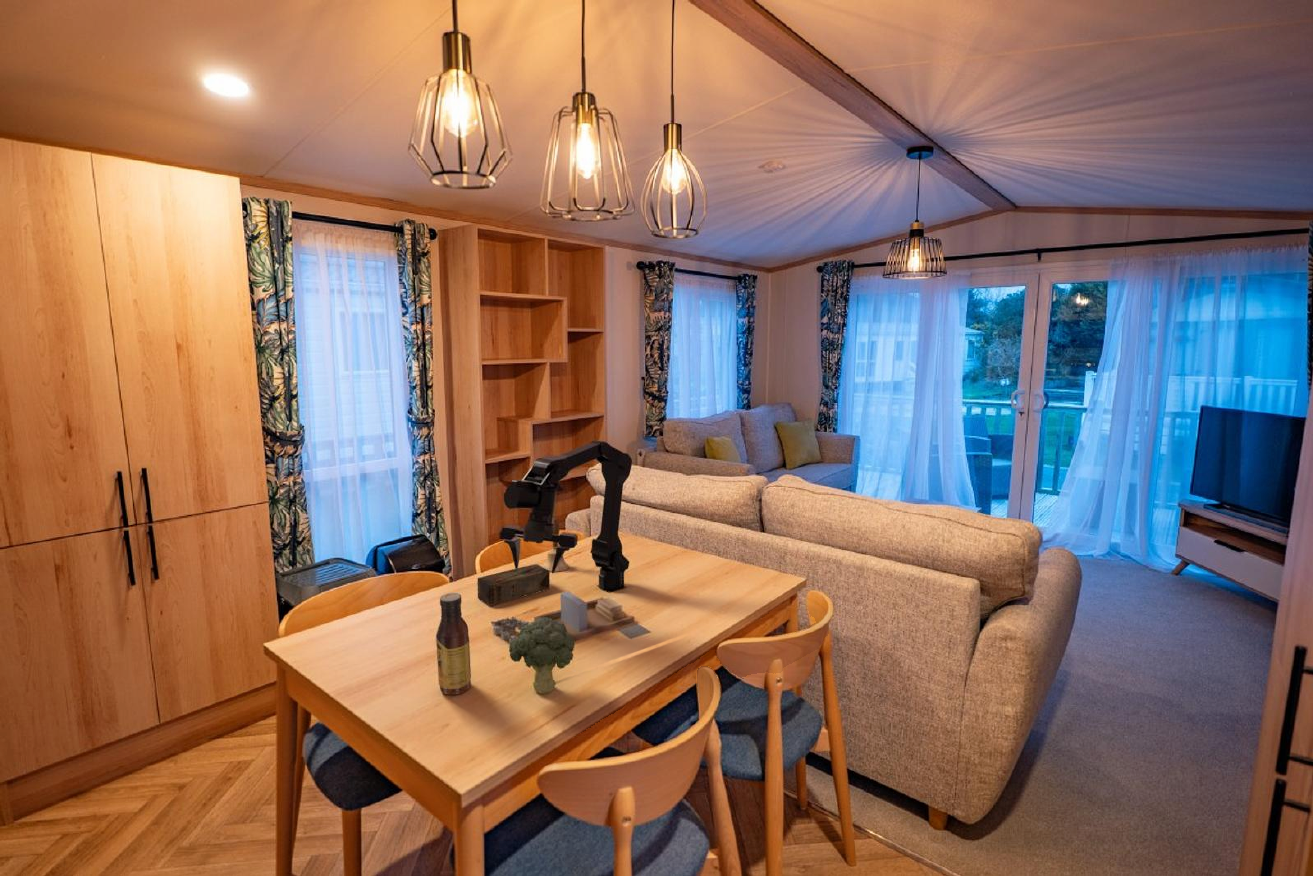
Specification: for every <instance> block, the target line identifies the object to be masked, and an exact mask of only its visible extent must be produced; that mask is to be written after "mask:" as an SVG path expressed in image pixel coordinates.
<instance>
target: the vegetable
mask: <svg viewBox="0 0 1313 876" xmlns="http://www.w3.org/2000/svg"><path fill="white" fill-rule="evenodd" d="M531 622H532V623H531ZM531 622H530V623H531V624H530V625H525V626H523V627H522V628H521V630H519V632H518V634H517V635H518V637H517V638H515V639H514V640H513V641H512V642H511V644H509V647H508V649H509V650H508V652H509V657H510V659H511V661H513V662H520V661H521V660H522V658H523V661H524V663H525V666H526V667H528V668H531V667H532V669H533V670H534V671H535V673H534V678H533V679H534V680H533V682H532V684H533V689H534V692H535V693H537V694H539V695H540V694H550V693H552V691H554V688H555V686H556V681H555V679H554V676H553V670H554V668H555V667H557V668H558V669H564V668H565V667H566V666H569V665H570V663H571V661H573V659H574V653H573V652H574V649H575V641H574V638H573V636H572V635H571V634H570V633H568V632H567V630H566V627H565V625H564V624H563V623H562V622H557V621H556V620H552V619H550V618H547V617H542V618H540V619H538V620H537V621H534V620H533V621H531Z"/></svg>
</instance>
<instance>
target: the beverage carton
mask: <svg viewBox="0 0 1313 876" xmlns="http://www.w3.org/2000/svg"><path fill="white" fill-rule="evenodd" d="M550 582H551V580H550V572H549V570H547V569H545V568H543V567H542V566H541V565H540V564H539V563H534V564H530V565H525V566H521V567H518V568H517V569H516V568H513V569H508V570H504V571H501V572H497V573H493V574H488V575H484V576H481V577H477V583H476V584H477V598H478V599H479V600H480V601H481V600H482V601H481V602H483V603H484V604H485V605H486V606H488V607H489V606H490V607H493V605H494V606H496V605H501V604H504V603H508V602H511V601H514V600H517V598H518V599H521V598H524V597H523V596H525V595H528V596H530V595H531V594H532V595H534V594H533V593H535V594H537V593H536V592H538V593H540V592H539V591H541V592H544V591H543V590H545V591H547V590H546V589H548V590H550V585H551V584H550ZM520 597H521V598H520ZM525 597H526V596H525ZM510 600H511V601H510Z"/></svg>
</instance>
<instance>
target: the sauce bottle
mask: <svg viewBox="0 0 1313 876" xmlns="http://www.w3.org/2000/svg"><path fill="white" fill-rule="evenodd" d="M439 605H440V607H441V608H440V611H441V612H440V613H441V616H440V617H441V619H440V622H439V624H438V627H437V628H438V629H437V631H436V633H435V643H436V658H437V659H436V661H437V675H438V677H437V678H438V685H439V689H440V691H441V693H442V694H444V695H448V696H456V695H460V694H462V693H465V692H466V691H467V690H468V689H469V688H470V687H471V683H472V681H471V679H472V678H471V677H472V671H471V670H472V669H471V667H472V666H471V655H470V654H471V652H470V651H471V650H470V648H471V646H470V637H469V625H468V624H467V622H466V621H465V619H464V618H463V617H462V595H461V593H458V592H449V593H445V594H443V595H441V596H440V597H439Z"/></svg>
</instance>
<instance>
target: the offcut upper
mask: <svg viewBox="0 0 1313 876" xmlns="http://www.w3.org/2000/svg"><path fill="white" fill-rule="evenodd" d="M622 606H623V605H622V603H620V602H618V601H616V600H614V599H613V598H611V597H606V598H604V599H602V600H598V607H600V608H601V609H603V610H605V611H606V612H608V613H609V614H612V613H615V612H619V611H623V607H622Z"/></svg>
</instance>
